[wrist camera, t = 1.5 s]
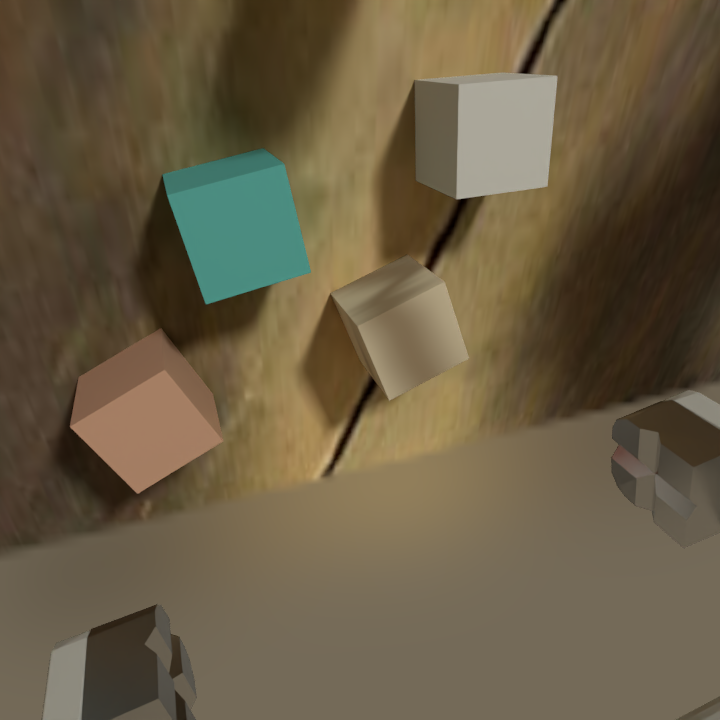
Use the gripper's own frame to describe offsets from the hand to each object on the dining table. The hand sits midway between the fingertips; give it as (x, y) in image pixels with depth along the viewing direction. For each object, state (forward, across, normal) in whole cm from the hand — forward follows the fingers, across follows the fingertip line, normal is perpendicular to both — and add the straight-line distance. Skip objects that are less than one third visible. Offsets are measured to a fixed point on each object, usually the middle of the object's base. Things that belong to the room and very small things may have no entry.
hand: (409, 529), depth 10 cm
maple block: (+24, -7, +8) cm, 26 cm away
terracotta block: (+24, +7, +8) cm, 26 cm away
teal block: (+24, 0, 0) cm, 24 cm away
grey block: (+24, -13, -1) cm, 27 cm away
